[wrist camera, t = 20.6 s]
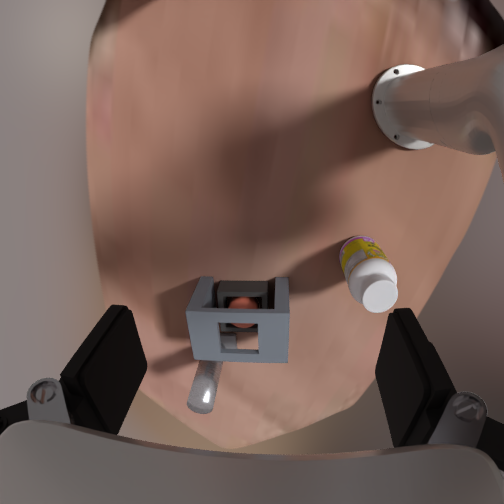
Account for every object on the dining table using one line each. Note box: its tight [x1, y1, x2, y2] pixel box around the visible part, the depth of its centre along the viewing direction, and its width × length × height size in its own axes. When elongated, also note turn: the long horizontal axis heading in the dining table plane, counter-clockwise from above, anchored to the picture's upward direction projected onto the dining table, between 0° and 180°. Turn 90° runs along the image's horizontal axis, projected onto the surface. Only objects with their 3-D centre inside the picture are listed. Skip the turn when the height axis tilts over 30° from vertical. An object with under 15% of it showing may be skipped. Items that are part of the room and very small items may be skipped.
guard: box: [185, 276, 290, 363], centre depth 49 cm, size 14×9×10 cm, turn 92°
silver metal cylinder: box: [187, 343, 226, 414], centre depth 51 cm, size 4×4×14 cm
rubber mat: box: [220, 333, 237, 349], centre depth 57 cm, size 8×6×1 cm
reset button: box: [229, 296, 259, 328], centre depth 51 cm, size 5×5×3 cm
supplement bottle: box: [339, 236, 398, 313], centre depth 42 cm, size 7×7×13 cm
